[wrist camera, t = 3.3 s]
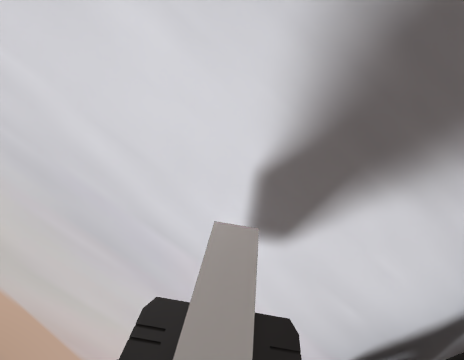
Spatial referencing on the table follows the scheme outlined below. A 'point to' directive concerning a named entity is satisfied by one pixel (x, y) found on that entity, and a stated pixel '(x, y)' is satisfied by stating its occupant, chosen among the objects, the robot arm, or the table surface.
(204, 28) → the table surface
